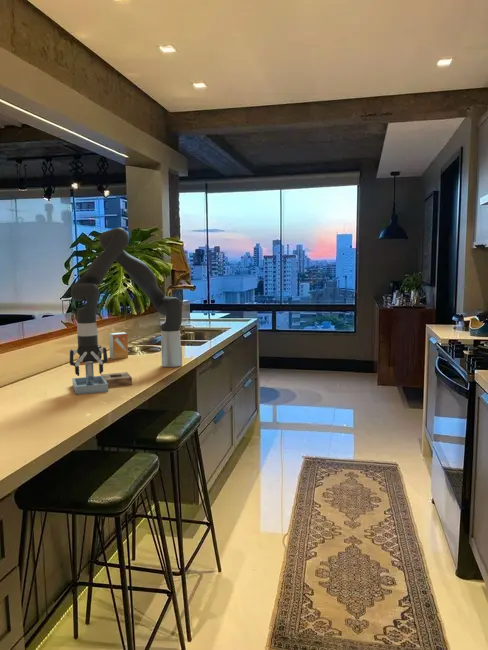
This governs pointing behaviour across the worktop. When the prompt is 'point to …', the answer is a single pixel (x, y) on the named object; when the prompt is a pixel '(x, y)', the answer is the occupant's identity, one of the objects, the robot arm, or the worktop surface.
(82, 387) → the tray
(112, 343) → the small box
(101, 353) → the jar
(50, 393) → the worktop surface
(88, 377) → the pin
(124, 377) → the plate
